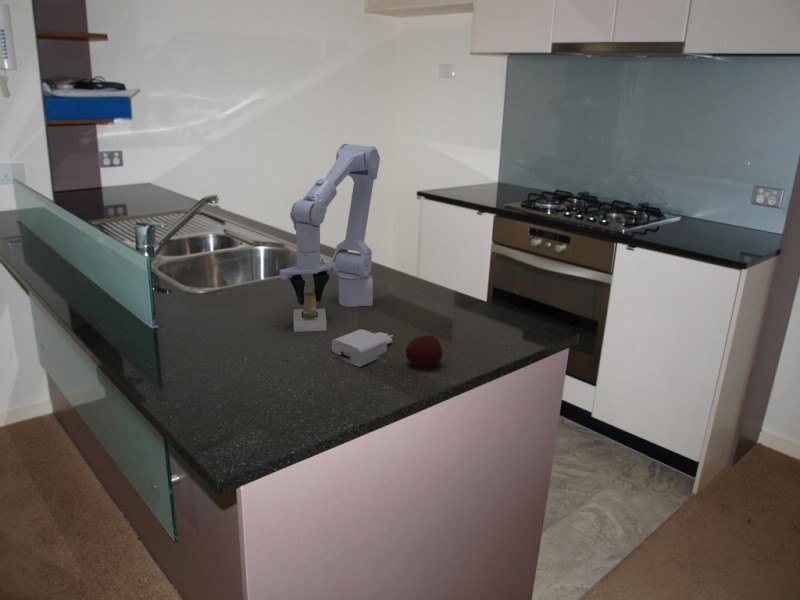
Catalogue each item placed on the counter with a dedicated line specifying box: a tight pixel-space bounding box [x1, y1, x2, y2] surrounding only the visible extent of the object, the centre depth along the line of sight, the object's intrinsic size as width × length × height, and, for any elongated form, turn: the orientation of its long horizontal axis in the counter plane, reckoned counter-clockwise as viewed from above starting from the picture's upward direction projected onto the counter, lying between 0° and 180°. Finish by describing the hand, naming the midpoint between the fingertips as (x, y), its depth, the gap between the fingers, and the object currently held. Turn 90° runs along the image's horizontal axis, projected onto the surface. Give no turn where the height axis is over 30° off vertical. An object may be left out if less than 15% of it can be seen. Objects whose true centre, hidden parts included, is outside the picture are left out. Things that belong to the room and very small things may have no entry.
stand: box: [293, 308, 327, 333], centre depth 162 cm, size 12×12×4 cm
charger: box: [331, 328, 394, 368], centre depth 150 cm, size 5×9×15 cm
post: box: [302, 291, 317, 318], centre depth 160 cm, size 3×3×7 cm
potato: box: [405, 335, 443, 368], centre depth 144 cm, size 7×8×7 cm
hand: (309, 302), depth 160 cm, fingers closed on post, 4 cm apart
